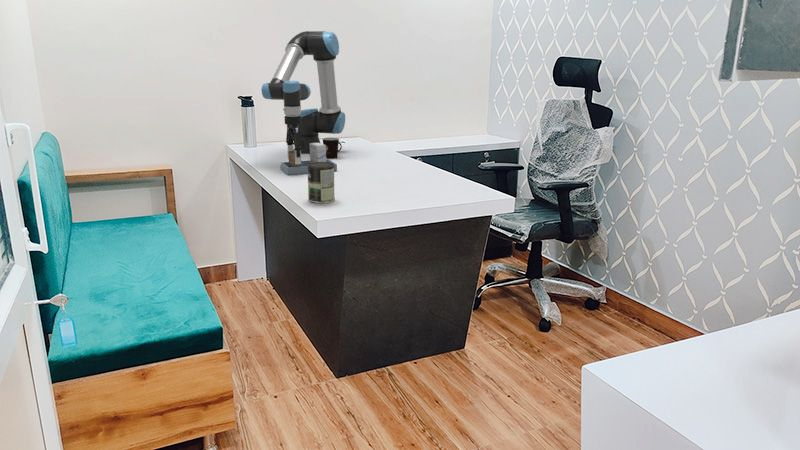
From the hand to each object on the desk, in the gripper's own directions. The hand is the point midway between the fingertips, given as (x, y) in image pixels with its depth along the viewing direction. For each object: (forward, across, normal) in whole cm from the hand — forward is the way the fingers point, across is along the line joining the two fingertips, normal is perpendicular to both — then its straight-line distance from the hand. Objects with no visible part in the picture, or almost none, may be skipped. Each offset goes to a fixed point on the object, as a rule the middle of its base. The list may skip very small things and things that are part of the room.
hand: (294, 161), depth 279 cm
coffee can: (+5, +55, -4) cm, 55 cm away
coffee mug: (+5, -26, +26) cm, 37 cm away
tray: (+5, 0, +7) cm, 8 cm away
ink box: (+4, 0, +12) cm, 12 cm away
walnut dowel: (+4, 0, 0) cm, 4 cm away
